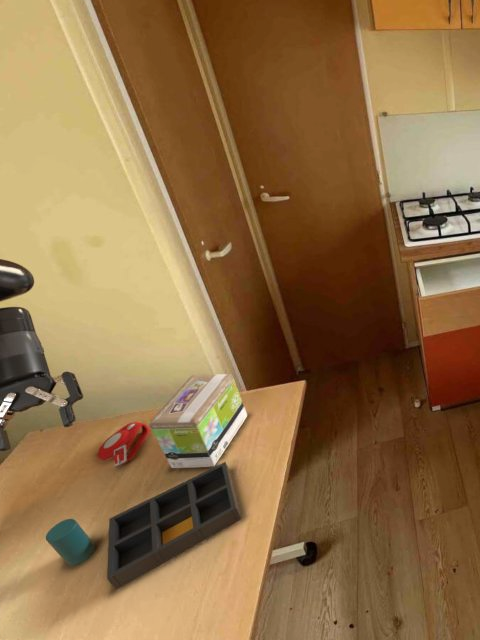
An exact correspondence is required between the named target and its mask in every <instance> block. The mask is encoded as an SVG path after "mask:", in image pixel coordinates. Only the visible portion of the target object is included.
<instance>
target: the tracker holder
mask: <svg viewBox="0 0 480 640" xmlns="http://www.w3.org/2000/svg"><path fill="white" fill-rule="evenodd" d="M140 430H141V433H140V435H139V436H138V438H137V439H136V441H135V442H134V444H133V446H132V448H131V449H130V447H131V445H132V443H133V441H134V440H135V438H136V436H137V434H138V432H139V431H140ZM149 433H150V427H149V426H148V425H147V424H146V423H143V422H138V421H134V422H133V421H132V422H129V423H127V424H126V425H124V426H123V427H122V428H120V429H118V430H117V431H115V432H114V433H113V434H112V435H110V436H109V437H108V438H107V439H106V440H105V441H104V442H103V443H102V445H101V446H100V447H99V449H98V451H97V455H96V456H97V458H98V459H99V460H101V461H107V460H110V459H112V458H113V467H115V468H117V467H118V466H122V465H124V464H125V463H128V462H130V461H132V459H134V457H135V456H136V454H137V453H138V452H139V450H140V448H141V447H142V445H143V444H144V442H145V441H146V439H147V437H148V436H149ZM129 449H130V451H129V452H127V451H128V450H129Z"/></svg>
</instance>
